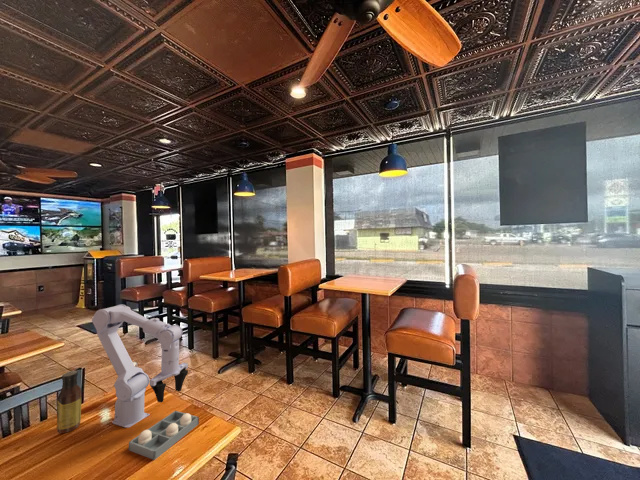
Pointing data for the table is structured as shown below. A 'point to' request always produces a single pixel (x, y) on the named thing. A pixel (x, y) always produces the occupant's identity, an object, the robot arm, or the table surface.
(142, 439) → the egg
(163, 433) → the carton
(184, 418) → the egg
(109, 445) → the table surface
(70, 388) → the sauce bottle
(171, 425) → the egg
